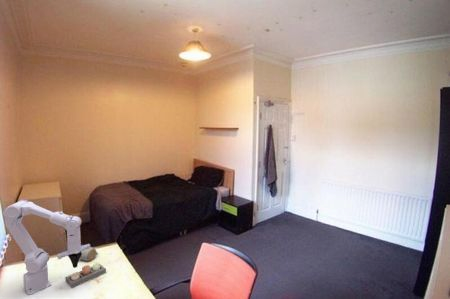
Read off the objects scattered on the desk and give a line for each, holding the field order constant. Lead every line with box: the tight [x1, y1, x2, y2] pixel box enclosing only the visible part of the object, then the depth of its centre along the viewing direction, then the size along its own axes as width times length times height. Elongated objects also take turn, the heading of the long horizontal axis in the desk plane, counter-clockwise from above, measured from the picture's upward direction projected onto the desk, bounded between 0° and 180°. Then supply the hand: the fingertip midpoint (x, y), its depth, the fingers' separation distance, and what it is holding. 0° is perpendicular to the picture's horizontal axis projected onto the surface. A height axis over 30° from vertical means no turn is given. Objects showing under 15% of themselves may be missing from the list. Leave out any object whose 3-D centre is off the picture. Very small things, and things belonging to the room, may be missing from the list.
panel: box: [65, 264, 107, 289], centre depth 130 cm, size 17×8×2 cm, turn 142°
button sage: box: [92, 263, 101, 272], centre depth 134 cm, size 4×4×4 cm
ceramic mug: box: [79, 246, 99, 262], centre depth 149 cm, size 11×8×8 cm
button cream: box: [70, 271, 80, 281], centre depth 126 cm, size 4×4×4 cm
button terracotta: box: [81, 264, 91, 276], centre depth 130 cm, size 4×4×4 cm
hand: (75, 266), depth 125 cm, fingers closed
